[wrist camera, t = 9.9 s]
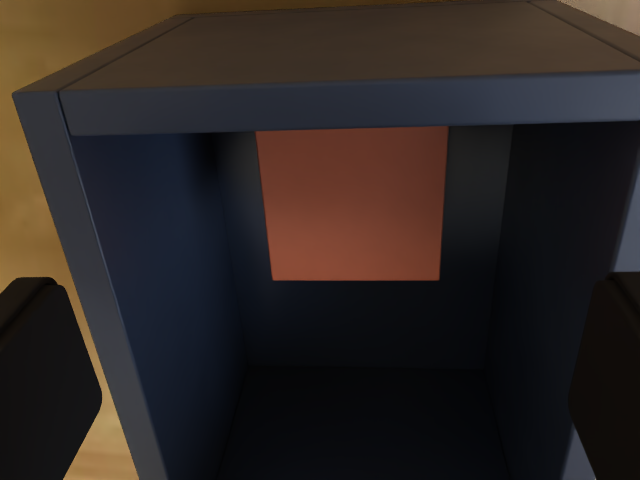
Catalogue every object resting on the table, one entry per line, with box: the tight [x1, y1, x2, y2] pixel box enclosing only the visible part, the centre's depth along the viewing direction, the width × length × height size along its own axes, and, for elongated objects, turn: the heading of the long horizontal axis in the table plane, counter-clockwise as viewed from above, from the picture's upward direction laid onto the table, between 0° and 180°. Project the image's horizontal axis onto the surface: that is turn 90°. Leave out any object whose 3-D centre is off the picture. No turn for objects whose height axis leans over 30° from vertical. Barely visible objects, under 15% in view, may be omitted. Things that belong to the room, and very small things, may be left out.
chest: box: [12, 0, 640, 480], centre depth 18 cm, size 16×12×10 cm
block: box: [255, 126, 449, 281], centre depth 17 cm, size 5×5×5 cm
